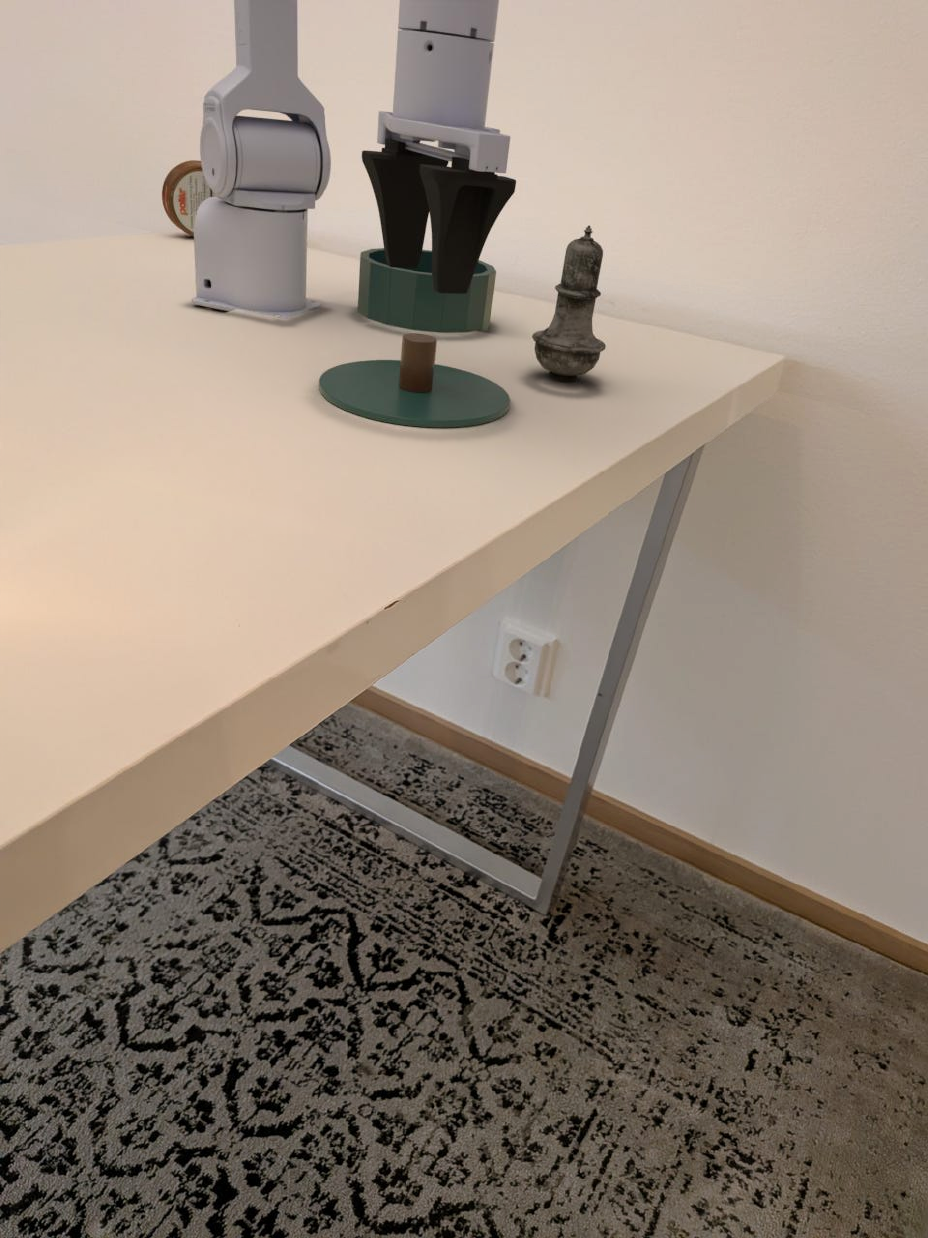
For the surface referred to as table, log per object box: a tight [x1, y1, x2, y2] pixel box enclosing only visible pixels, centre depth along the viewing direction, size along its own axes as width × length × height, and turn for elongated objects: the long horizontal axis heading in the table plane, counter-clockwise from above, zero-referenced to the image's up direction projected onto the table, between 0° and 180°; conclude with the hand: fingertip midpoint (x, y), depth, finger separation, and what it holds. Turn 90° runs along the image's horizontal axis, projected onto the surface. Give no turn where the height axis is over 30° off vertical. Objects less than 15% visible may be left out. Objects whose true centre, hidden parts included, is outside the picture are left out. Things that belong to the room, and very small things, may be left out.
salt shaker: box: [531, 225, 607, 383], centre depth 68 cm, size 6×6×12 cm
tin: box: [161, 159, 217, 237], centre depth 108 cm, size 15×3×8 cm, turn 119°
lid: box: [318, 332, 511, 429], centre depth 62 cm, size 14×14×5 cm
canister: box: [357, 247, 497, 334], centre depth 83 cm, size 13×13×5 cm
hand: (425, 278), depth 59 cm, fingers open, 7 cm apart
